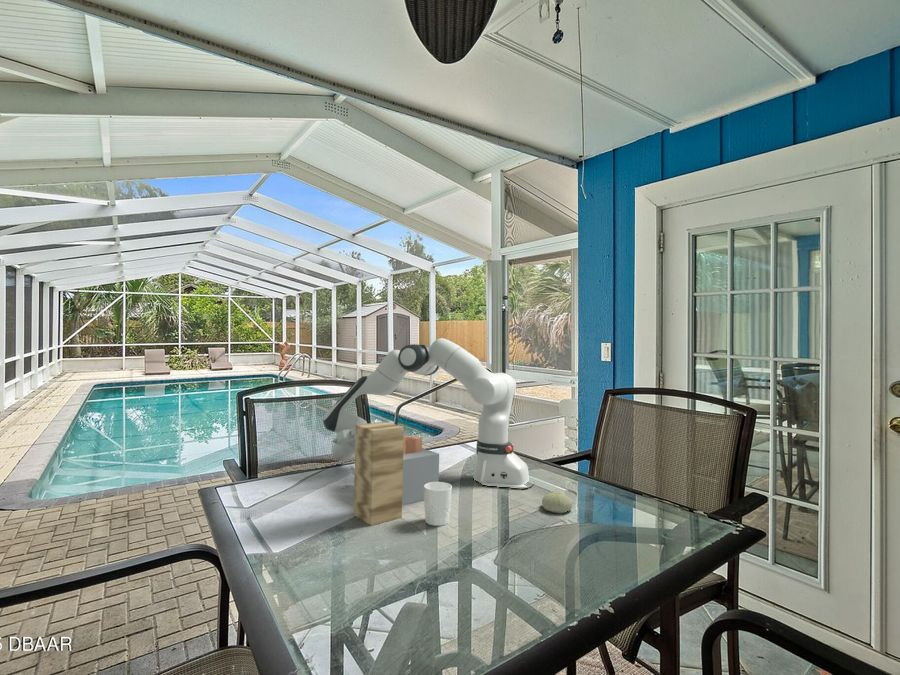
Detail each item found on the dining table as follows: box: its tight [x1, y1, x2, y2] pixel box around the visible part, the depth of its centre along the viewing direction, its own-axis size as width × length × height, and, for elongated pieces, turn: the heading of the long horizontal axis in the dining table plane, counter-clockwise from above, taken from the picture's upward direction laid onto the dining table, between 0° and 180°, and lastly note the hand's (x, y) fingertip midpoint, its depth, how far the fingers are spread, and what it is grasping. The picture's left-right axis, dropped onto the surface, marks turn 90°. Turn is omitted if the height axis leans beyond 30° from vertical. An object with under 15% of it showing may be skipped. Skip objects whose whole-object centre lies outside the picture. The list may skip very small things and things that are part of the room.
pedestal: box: [353, 421, 405, 527], centre depth 137 cm, size 10×10×26 cm
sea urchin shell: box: [541, 491, 573, 514], centre depth 146 cm, size 9×8×8 cm
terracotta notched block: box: [403, 434, 423, 455], centre depth 160 cm, size 16×9×4 cm, turn 39°
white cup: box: [423, 481, 453, 527], centre depth 134 cm, size 8×8×10 cm
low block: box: [402, 447, 440, 507], centre depth 157 cm, size 18×15×14 cm
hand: (372, 427), depth 173 cm, fingers open, 8 cm apart
